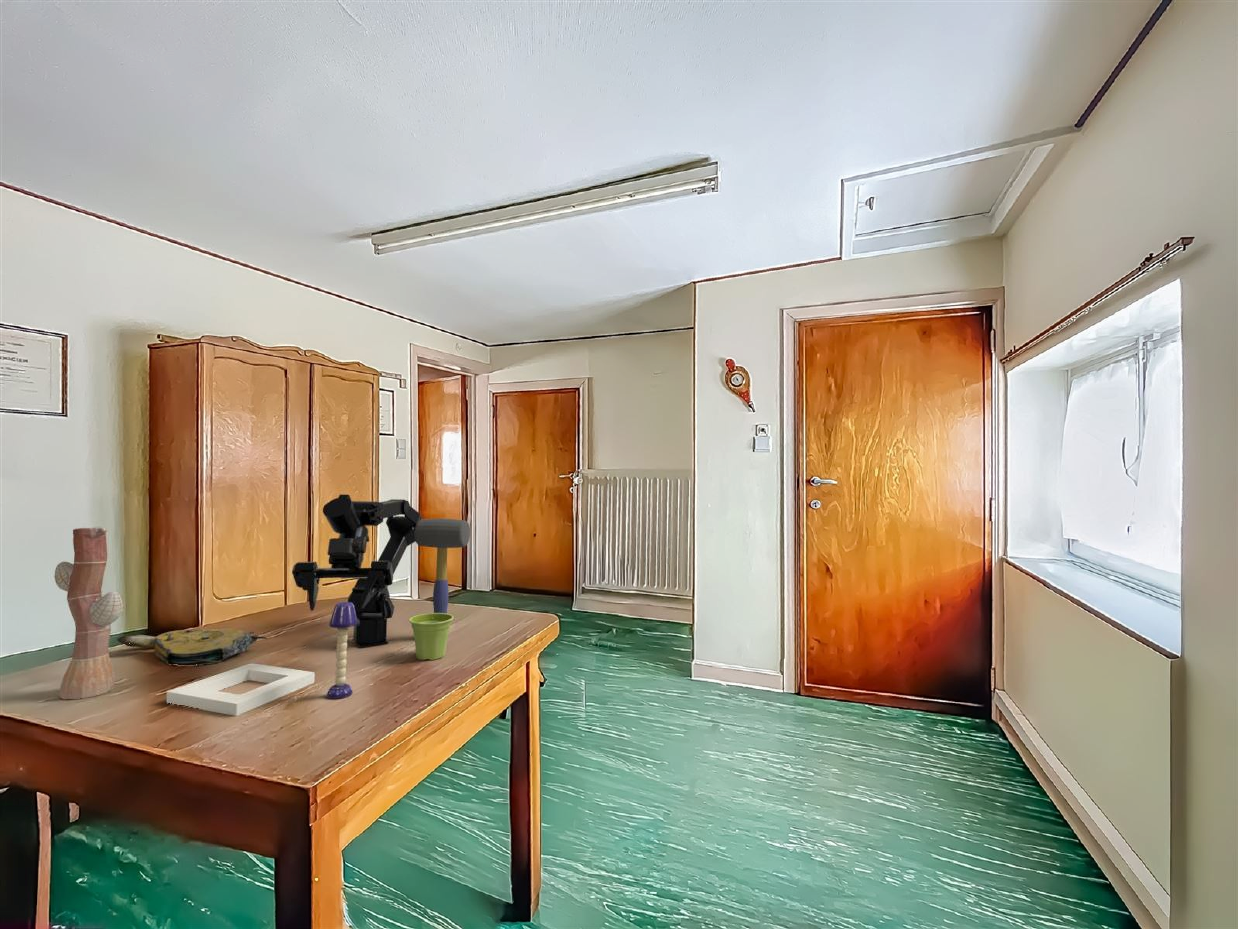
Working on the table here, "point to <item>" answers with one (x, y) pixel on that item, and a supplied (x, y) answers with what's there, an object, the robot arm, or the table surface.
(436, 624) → the plant pot
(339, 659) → the toy lamp
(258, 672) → the cutout frame
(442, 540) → the rubber mallet
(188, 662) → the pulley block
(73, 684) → the vase
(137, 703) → the table surface
